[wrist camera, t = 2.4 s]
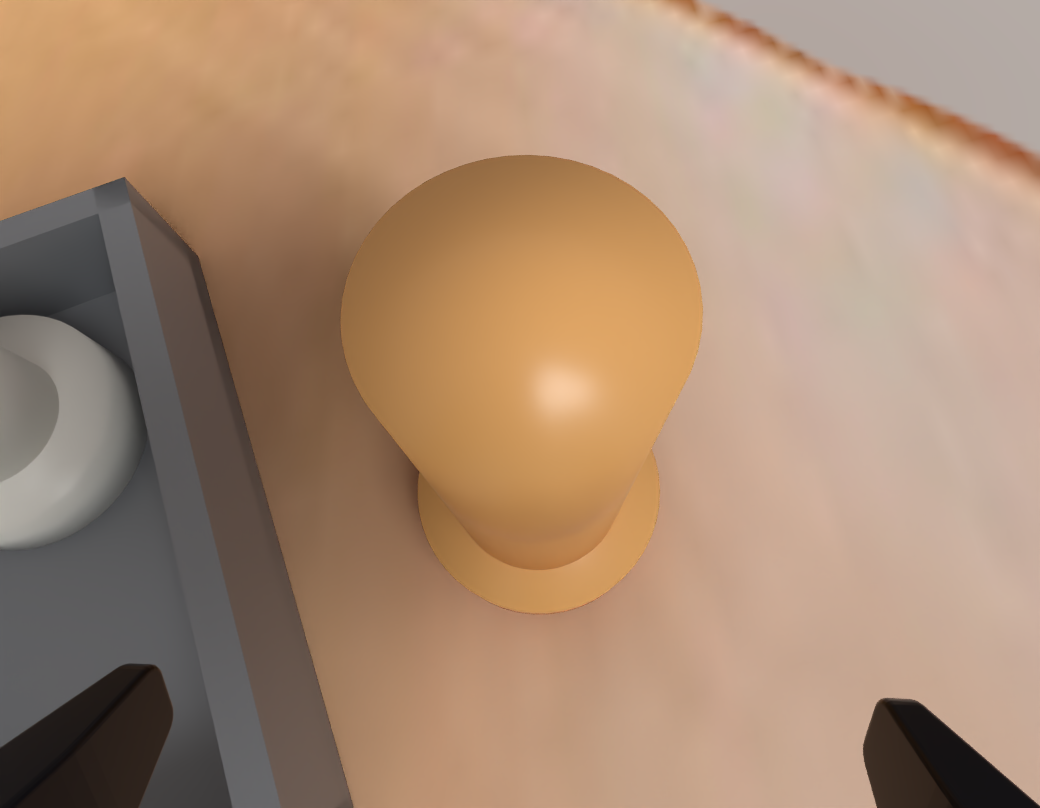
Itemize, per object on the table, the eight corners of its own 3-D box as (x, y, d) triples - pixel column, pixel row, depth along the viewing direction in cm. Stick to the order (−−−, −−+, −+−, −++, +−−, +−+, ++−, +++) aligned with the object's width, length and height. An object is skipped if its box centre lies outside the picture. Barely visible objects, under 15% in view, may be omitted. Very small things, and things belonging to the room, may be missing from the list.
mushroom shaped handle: (696, 527, 20) (908, 359, 8) (509, 663, 19) (434, 702, 7) (564, 358, 23) (578, 25, 10) (389, 472, 22) (174, 252, 9)
